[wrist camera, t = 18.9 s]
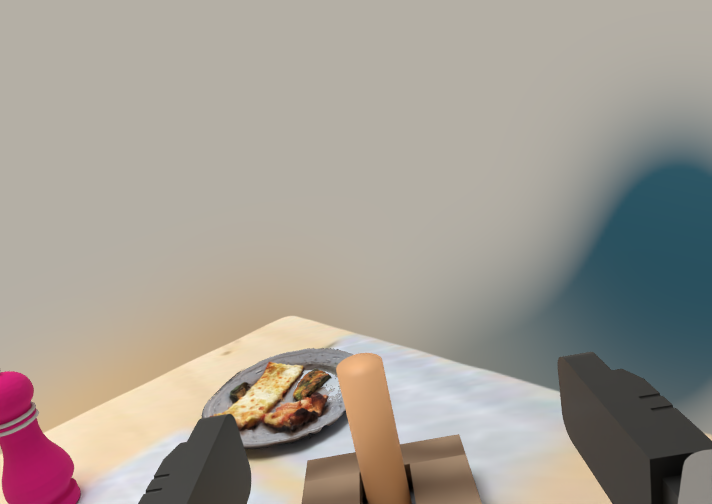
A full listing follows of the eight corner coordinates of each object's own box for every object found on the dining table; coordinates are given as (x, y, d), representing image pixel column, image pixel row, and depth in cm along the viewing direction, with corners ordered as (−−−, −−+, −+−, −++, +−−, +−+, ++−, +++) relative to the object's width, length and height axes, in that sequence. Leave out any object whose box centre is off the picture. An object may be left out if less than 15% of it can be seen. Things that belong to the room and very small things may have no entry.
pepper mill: (96, 493, 59) (35, 351, 54) (35, 540, 54) (-39, 387, 48) (68, 479, 63) (9, 345, 58) (8, 521, 58) (-63, 377, 52)
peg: (387, 487, 51) (353, 336, 46) (453, 517, 45) (423, 350, 41) (338, 545, 45) (293, 379, 40) (407, 586, 40) (366, 402, 35)
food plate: (313, 471, 55) (306, 445, 54) (170, 448, 66) (163, 426, 65) (389, 363, 76) (385, 343, 76) (273, 359, 87) (268, 341, 86)
